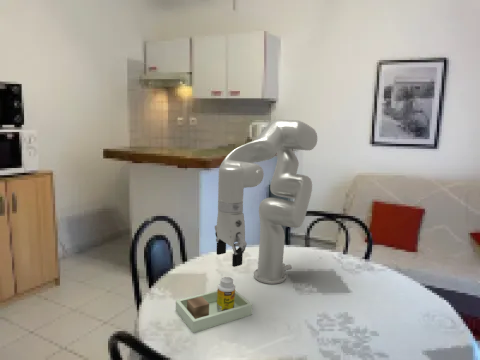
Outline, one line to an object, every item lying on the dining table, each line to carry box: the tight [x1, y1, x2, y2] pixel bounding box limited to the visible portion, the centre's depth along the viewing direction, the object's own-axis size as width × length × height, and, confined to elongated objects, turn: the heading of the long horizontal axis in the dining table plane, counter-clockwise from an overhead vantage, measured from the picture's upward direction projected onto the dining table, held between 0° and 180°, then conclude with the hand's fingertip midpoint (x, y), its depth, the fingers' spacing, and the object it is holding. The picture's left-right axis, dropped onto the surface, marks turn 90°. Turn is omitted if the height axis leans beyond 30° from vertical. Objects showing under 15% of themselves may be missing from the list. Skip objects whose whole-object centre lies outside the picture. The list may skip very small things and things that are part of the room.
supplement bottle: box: [216, 276, 236, 312], centre depth 111 cm, size 6×6×10 cm
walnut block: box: [187, 296, 209, 319], centre depth 107 cm, size 5×5×5 cm
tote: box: [175, 289, 253, 334], centre depth 110 cm, size 20×13×4 cm, turn 122°
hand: (228, 259), depth 109 cm, fingers open, 9 cm apart
